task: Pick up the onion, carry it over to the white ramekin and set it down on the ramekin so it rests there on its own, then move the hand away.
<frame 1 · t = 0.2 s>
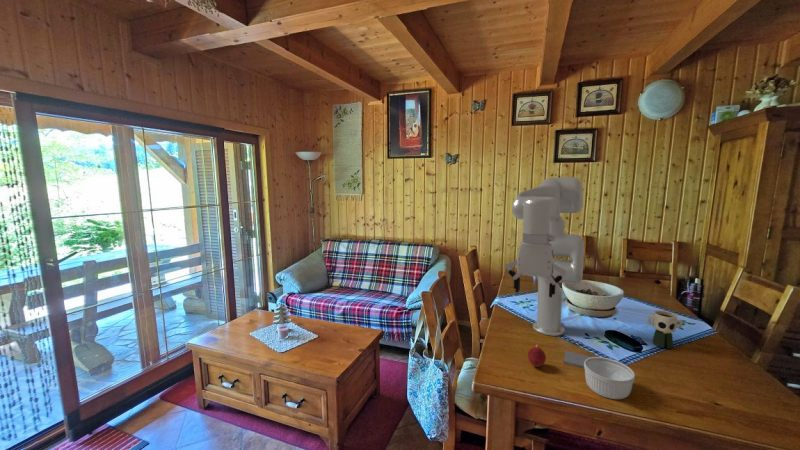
hand: (533, 293, 100), 30 cm above the table, tool pointing down, fingers open, 9 cm apart
coaster: (576, 360, 117), on the table
onion: (536, 367, 114), on the table
character mug: (662, 346, 126), on the table
ramekin: (607, 389, 101), on the table
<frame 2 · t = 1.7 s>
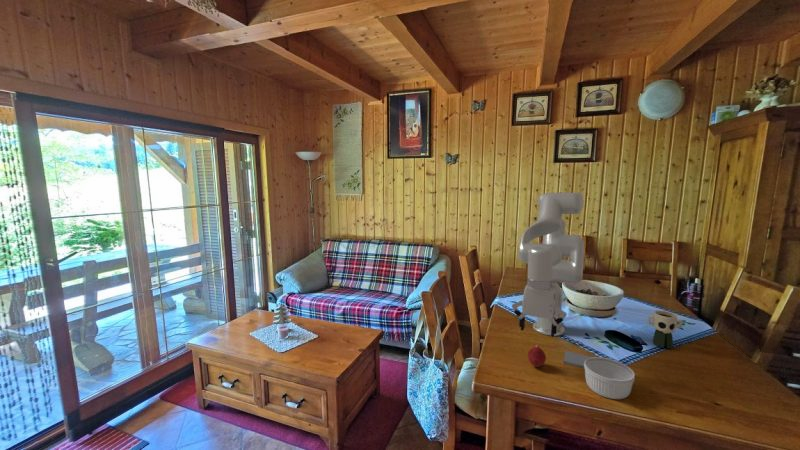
hand: (537, 332, 111), 13 cm above the table, tool pointing down, fingers open, 9 cm apart
nothing on the table moved.
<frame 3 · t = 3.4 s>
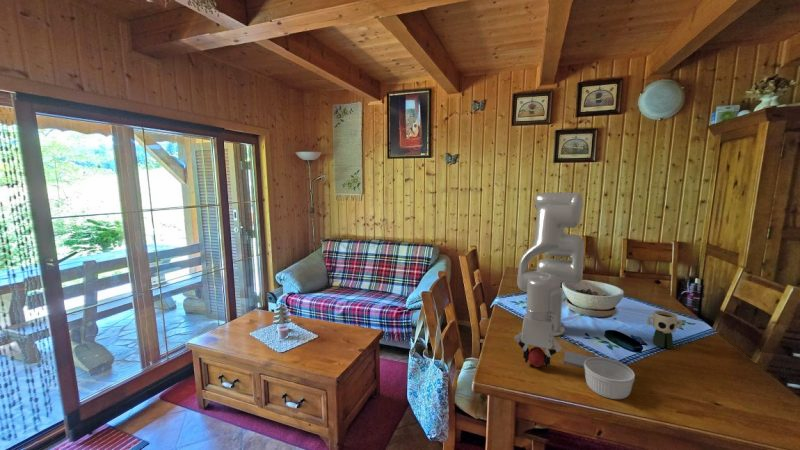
hand: (536, 362, 113), 2 cm above the table, tool pointing down, fingers closed on onion, 5 cm apart
onion: (536, 367, 113), on the table, touching gripper
everything else where it was.
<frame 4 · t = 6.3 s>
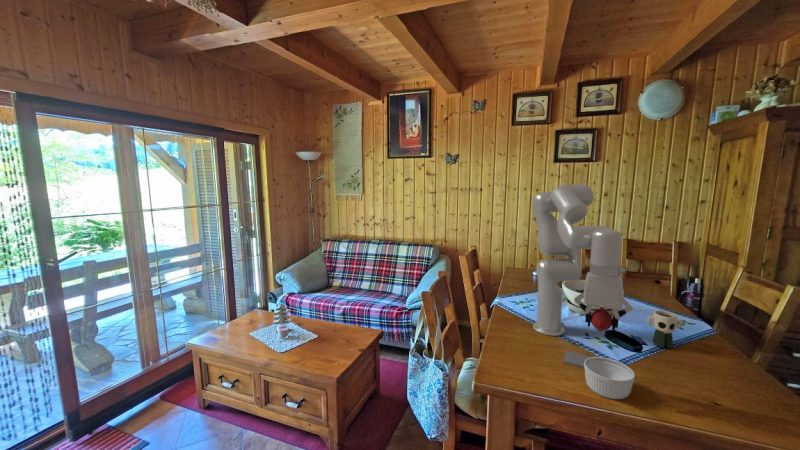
hand: (601, 326, 100), 20 cm above the table, tool pointing down, fingers closed on onion, 5 cm apart
onion: (600, 332, 100), point 18 cm above the table, touching gripper
everything else where it was.
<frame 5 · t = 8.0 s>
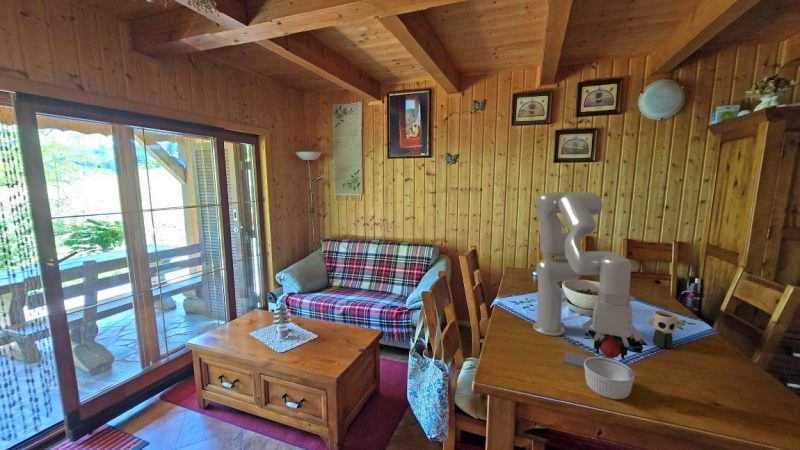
hand: (609, 353, 99), 12 cm above the table, tool pointing down, fingers closed on onion, 5 cm apart
onion: (609, 359, 100), point 10 cm above the table, touching gripper
everything else where it was.
when the fingers open (10 cm above the table, at t = 9.2 s): onion drops 1 cm, resting on ramekin.
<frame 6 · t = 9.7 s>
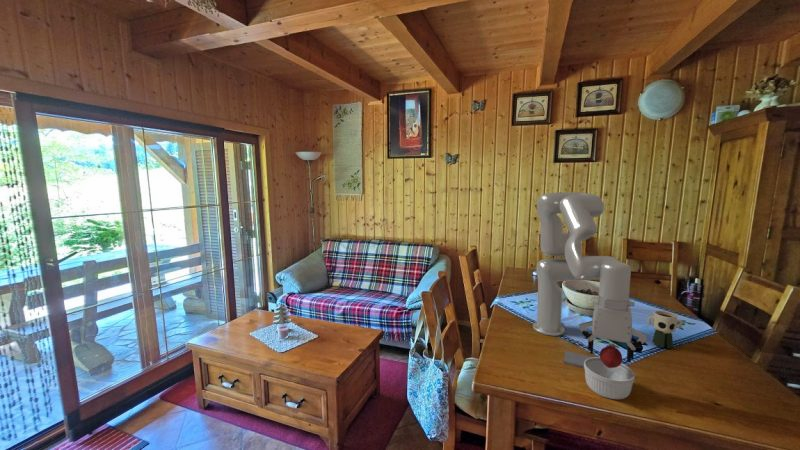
hand: (609, 356, 100), 11 cm above the table, tool pointing down, fingers open, 9 cm apart
onion: (608, 368, 100), point 7 cm above the table, touching ramekin
ramekin: (607, 389, 101), on the table, touching onion
everything else where it was.
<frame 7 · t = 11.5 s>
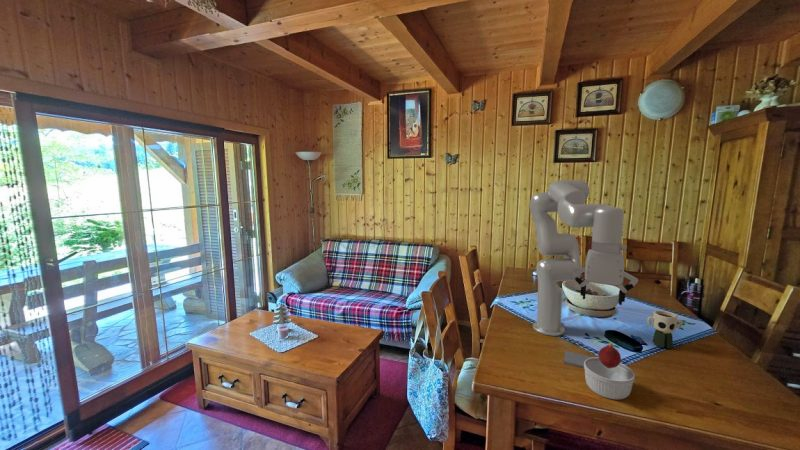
hand: (601, 300, 101), 27 cm above the table, tool pointing down, fingers open, 9 cm apart
nothing on the table moved.
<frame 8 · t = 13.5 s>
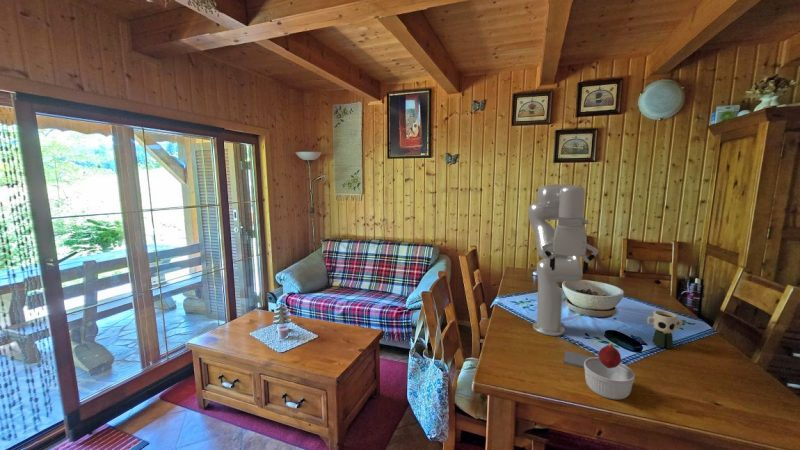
hand: (568, 271, 113), 33 cm above the table, tool pointing down, fingers open, 9 cm apart
nothing on the table moved.
at the end: onion 0.1 cm from the ramekin (horizontally); onion touching ramekin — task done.
